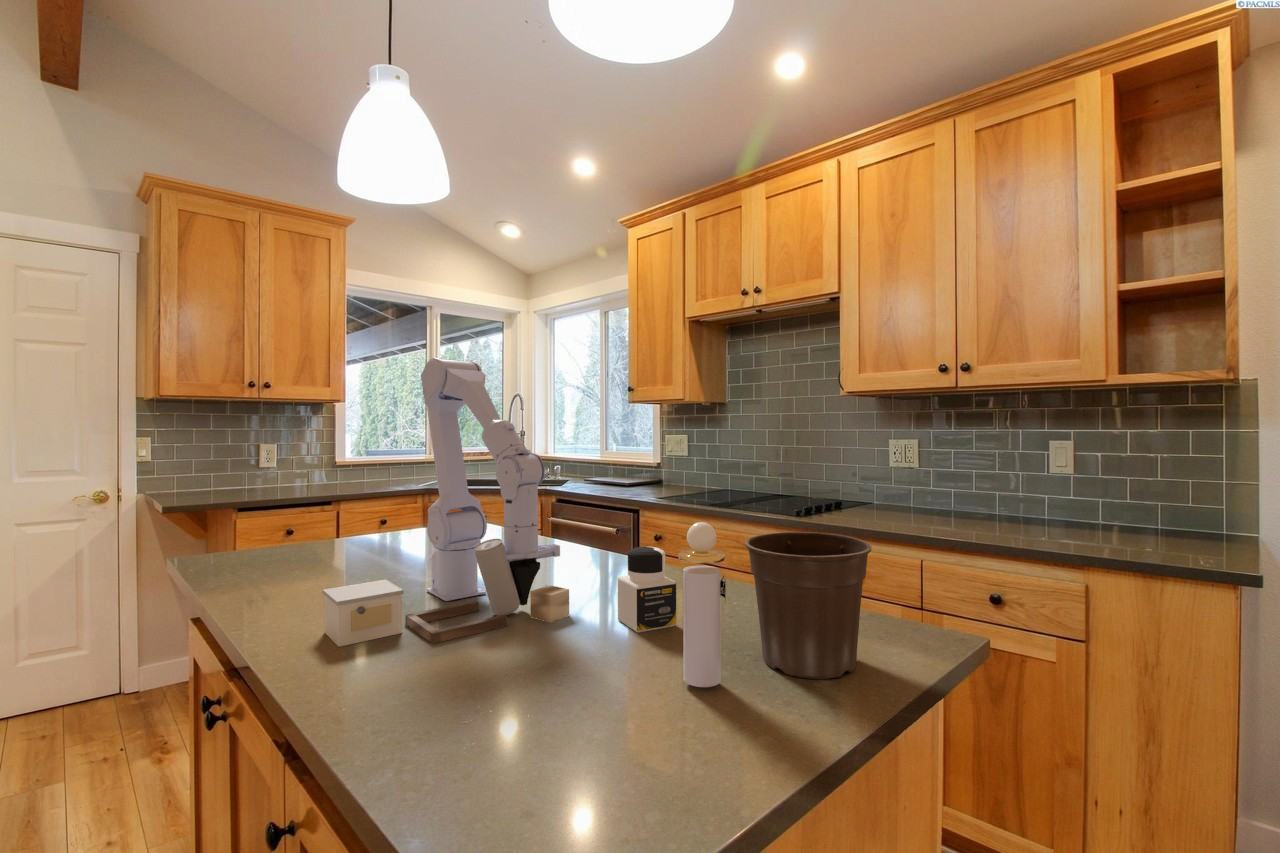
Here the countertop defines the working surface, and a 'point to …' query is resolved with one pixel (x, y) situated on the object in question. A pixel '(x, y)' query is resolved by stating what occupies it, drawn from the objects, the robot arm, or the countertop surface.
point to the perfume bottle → (702, 608)
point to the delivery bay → (434, 636)
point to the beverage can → (497, 577)
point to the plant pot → (809, 600)
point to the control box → (362, 612)
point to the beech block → (549, 603)
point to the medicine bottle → (646, 592)
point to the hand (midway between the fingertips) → (521, 603)
